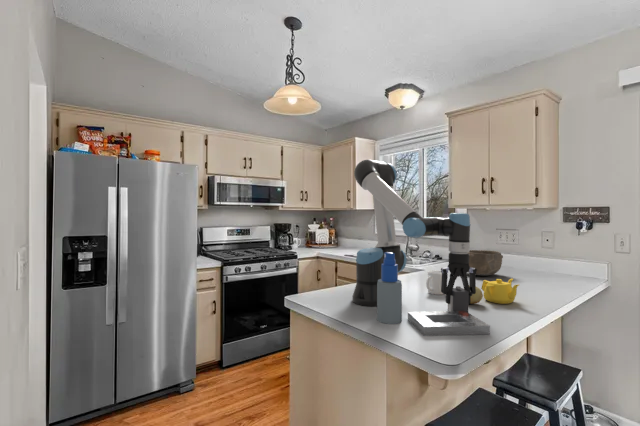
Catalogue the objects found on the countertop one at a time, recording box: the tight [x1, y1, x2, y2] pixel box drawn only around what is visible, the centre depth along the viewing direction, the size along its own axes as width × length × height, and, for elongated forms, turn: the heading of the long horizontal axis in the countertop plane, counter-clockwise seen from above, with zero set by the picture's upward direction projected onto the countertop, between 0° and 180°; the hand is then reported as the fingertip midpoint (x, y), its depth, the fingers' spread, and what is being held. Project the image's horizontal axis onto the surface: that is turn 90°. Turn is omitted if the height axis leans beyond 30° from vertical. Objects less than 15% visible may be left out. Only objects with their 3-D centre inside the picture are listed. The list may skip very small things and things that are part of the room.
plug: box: [451, 285, 469, 313], centre depth 130 cm, size 6×6×10 cm
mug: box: [425, 270, 444, 296], centre depth 163 cm, size 12×8×10 cm
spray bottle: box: [376, 252, 403, 325], centre depth 123 cm, size 9×9×25 cm
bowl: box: [467, 249, 504, 276], centre depth 210 cm, size 24×24×15 cm
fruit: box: [470, 286, 484, 305], centre depth 145 cm, size 8×8×8 cm
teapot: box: [480, 278, 520, 305], centre depth 149 cm, size 14×13×10 cm
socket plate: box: [407, 310, 491, 337], centre depth 116 cm, size 22×16×4 cm
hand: (457, 311), depth 130 cm, fingers closed on plug, 5 cm apart
